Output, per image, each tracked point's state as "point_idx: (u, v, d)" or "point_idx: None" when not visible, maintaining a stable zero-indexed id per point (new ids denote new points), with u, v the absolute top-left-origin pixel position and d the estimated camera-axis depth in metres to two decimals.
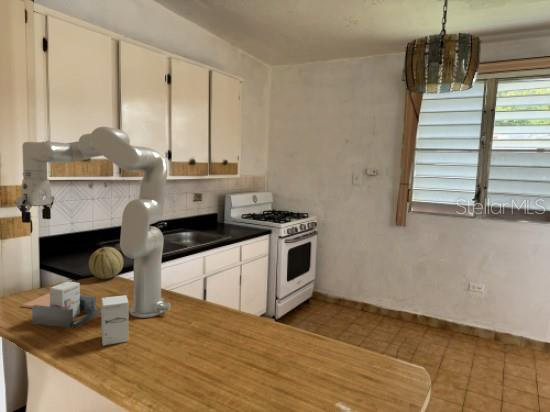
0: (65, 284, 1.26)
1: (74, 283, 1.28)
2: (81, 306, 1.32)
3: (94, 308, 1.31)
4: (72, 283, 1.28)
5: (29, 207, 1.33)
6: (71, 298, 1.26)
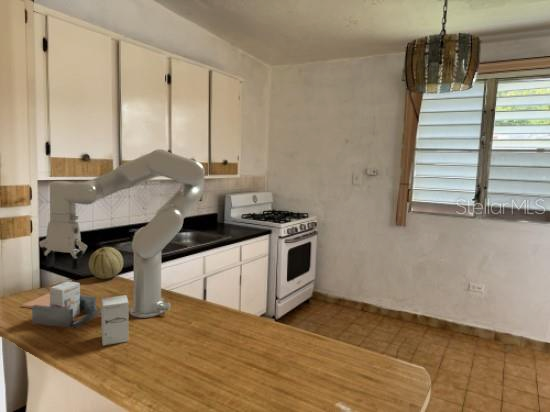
0: (65, 284, 1.26)
1: (74, 283, 1.28)
2: (81, 306, 1.32)
3: (94, 308, 1.31)
4: (72, 283, 1.28)
5: None
6: (71, 297, 1.26)
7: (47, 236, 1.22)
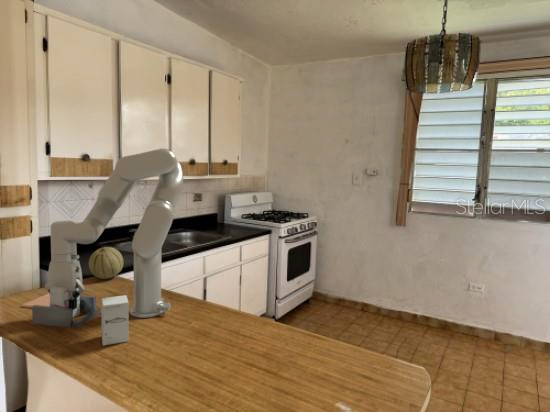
0: None
1: None
2: (81, 306, 1.32)
3: (94, 308, 1.31)
4: None
5: None
6: None
7: (49, 276, 1.24)
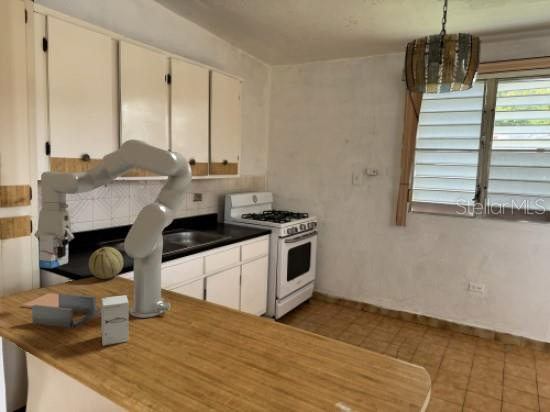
0: None
1: None
2: (81, 306, 1.32)
3: (94, 308, 1.31)
4: None
5: None
6: None
7: (39, 223, 1.30)
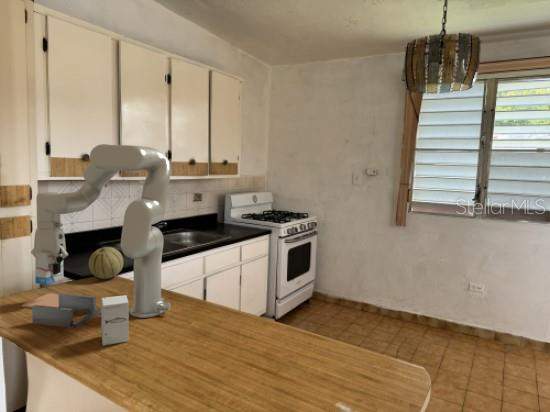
0: None
1: None
2: (81, 306, 1.32)
3: (94, 308, 1.31)
4: None
5: None
6: None
7: (35, 242, 1.36)
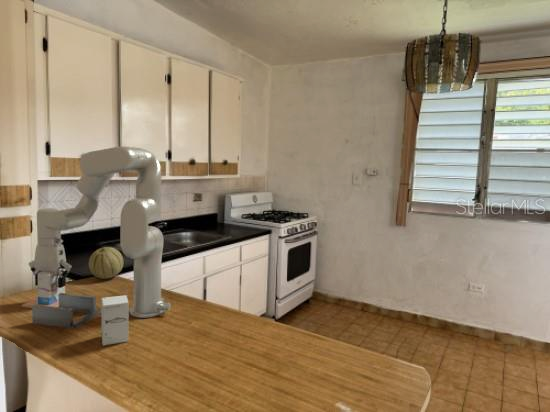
0: None
1: None
2: (81, 306, 1.32)
3: (94, 308, 1.31)
4: None
5: None
6: (57, 282, 1.39)
7: (35, 258, 1.37)
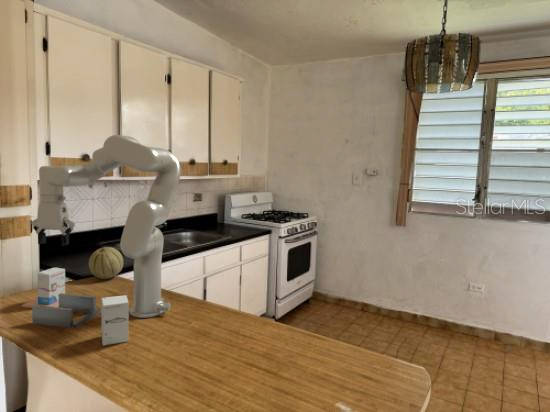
0: (51, 270, 1.39)
1: (60, 269, 1.41)
2: (81, 306, 1.32)
3: (94, 308, 1.31)
4: (58, 269, 1.41)
5: None
6: (57, 282, 1.39)
7: (38, 216, 1.36)
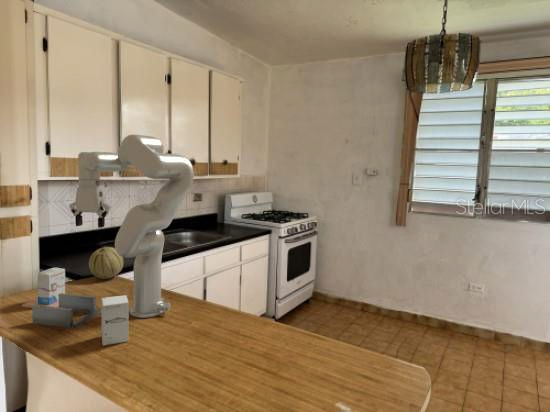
0: (51, 270, 1.39)
1: (60, 269, 1.41)
2: (81, 306, 1.32)
3: (94, 308, 1.31)
4: (58, 269, 1.41)
5: None
6: (57, 282, 1.39)
7: (76, 199, 1.44)
